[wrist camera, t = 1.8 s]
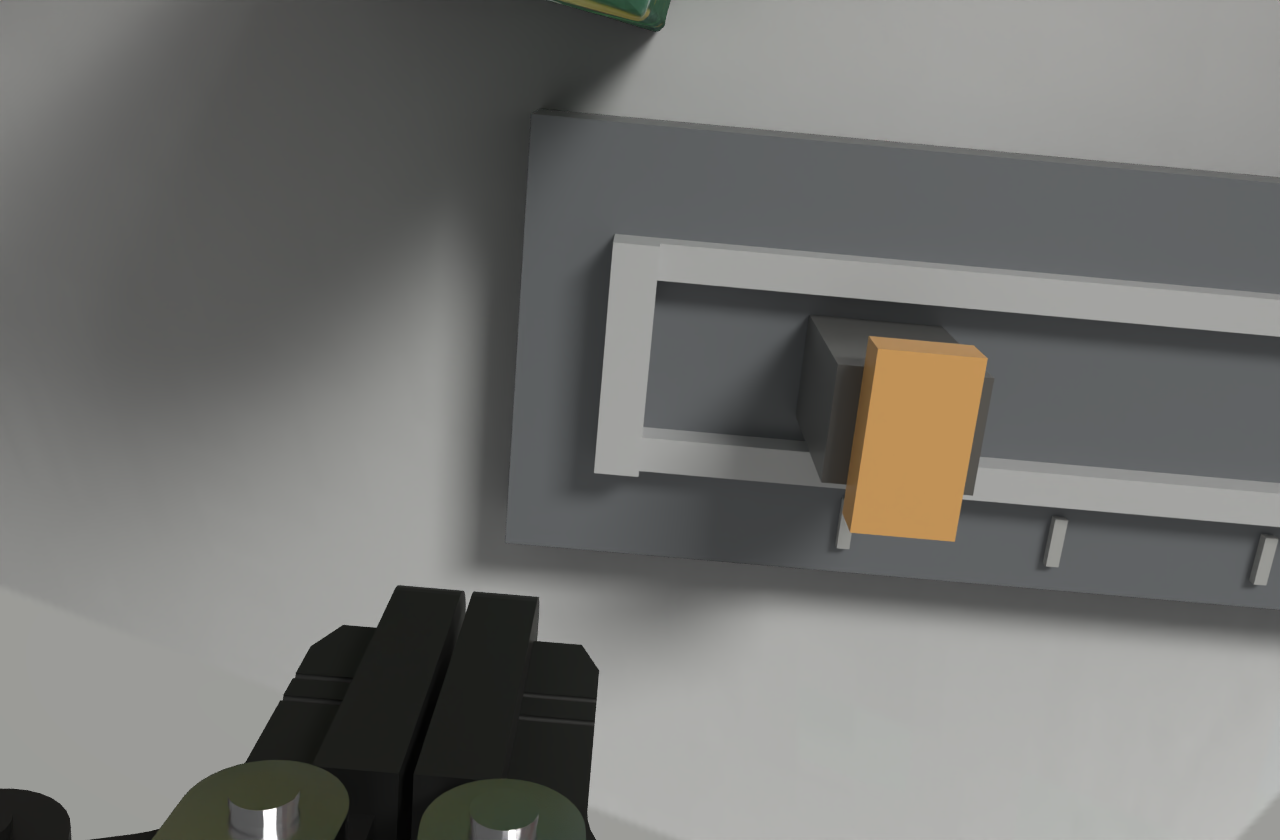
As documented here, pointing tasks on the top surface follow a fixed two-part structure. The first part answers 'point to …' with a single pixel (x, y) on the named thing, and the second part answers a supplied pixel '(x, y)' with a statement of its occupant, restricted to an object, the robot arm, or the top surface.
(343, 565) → the top surface
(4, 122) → the top surface
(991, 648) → the top surface
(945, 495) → the fader tab
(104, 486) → the top surface
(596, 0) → the coffee box
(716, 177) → the console board
